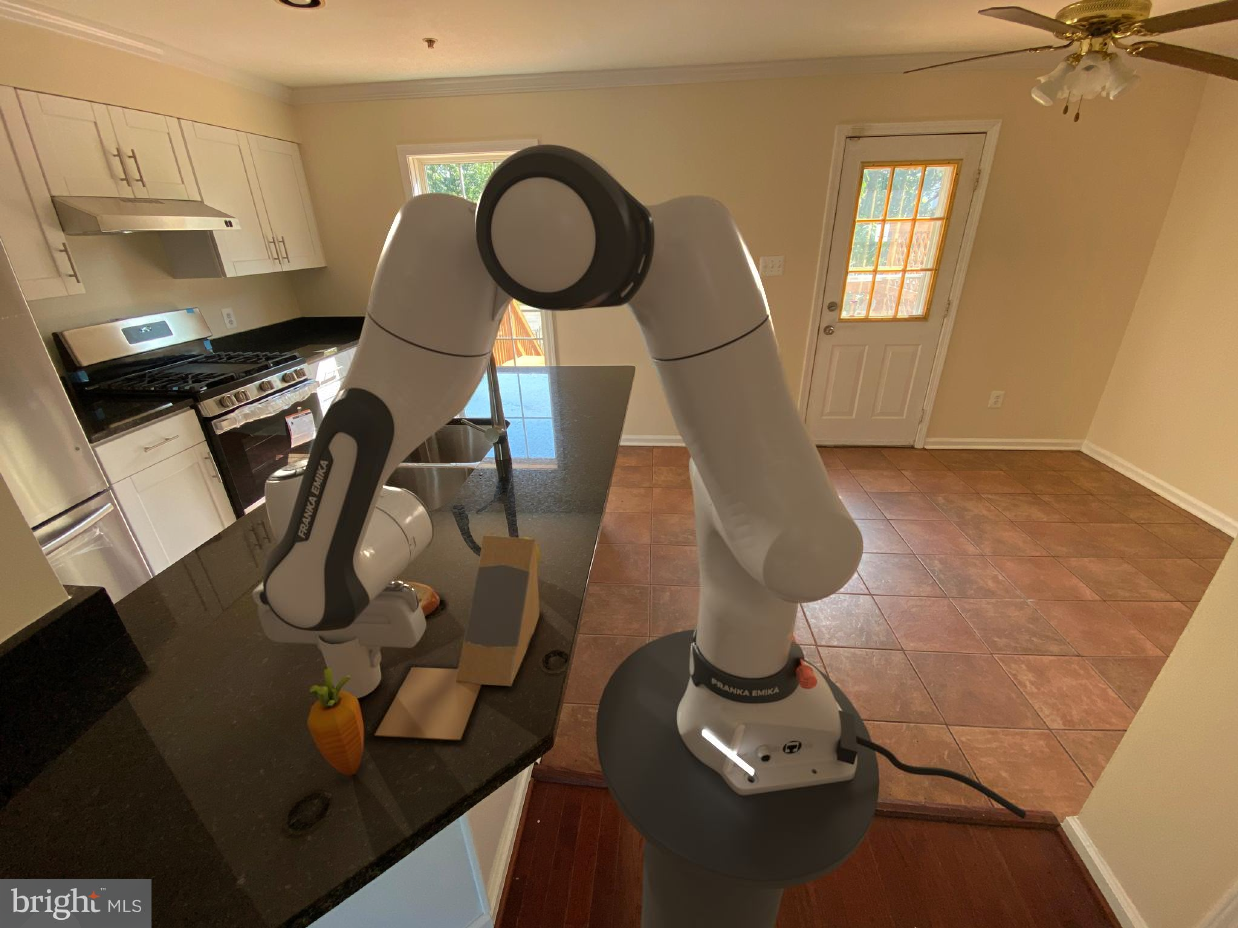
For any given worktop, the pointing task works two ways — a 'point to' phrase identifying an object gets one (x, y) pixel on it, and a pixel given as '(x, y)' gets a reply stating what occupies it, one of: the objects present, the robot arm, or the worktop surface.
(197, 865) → the worktop surface
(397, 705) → the cork coaster
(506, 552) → the sandwich container
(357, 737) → the carrot
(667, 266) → the robot arm
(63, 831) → the worktop surface
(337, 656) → the white coffee cup
